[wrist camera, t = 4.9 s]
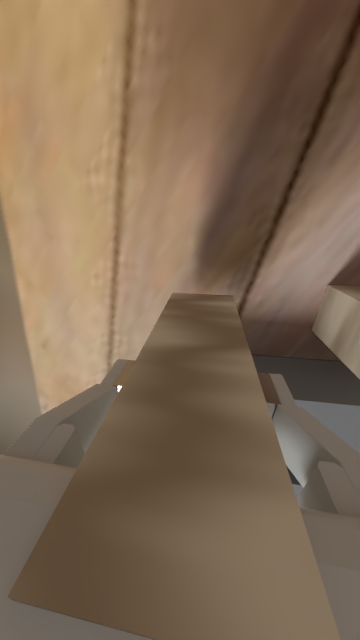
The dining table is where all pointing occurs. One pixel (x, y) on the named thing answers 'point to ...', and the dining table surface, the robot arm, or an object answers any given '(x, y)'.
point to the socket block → (320, 395)
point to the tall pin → (184, 501)
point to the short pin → (341, 324)
